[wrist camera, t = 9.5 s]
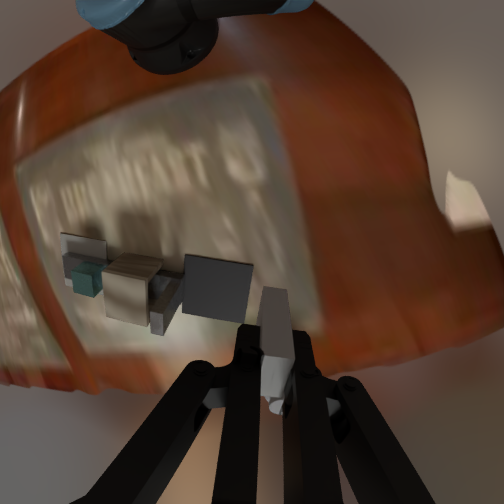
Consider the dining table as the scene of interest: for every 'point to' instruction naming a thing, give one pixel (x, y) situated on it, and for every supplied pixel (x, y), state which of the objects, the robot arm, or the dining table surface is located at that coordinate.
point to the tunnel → (129, 288)
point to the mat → (82, 249)
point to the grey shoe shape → (216, 288)
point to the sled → (159, 287)
